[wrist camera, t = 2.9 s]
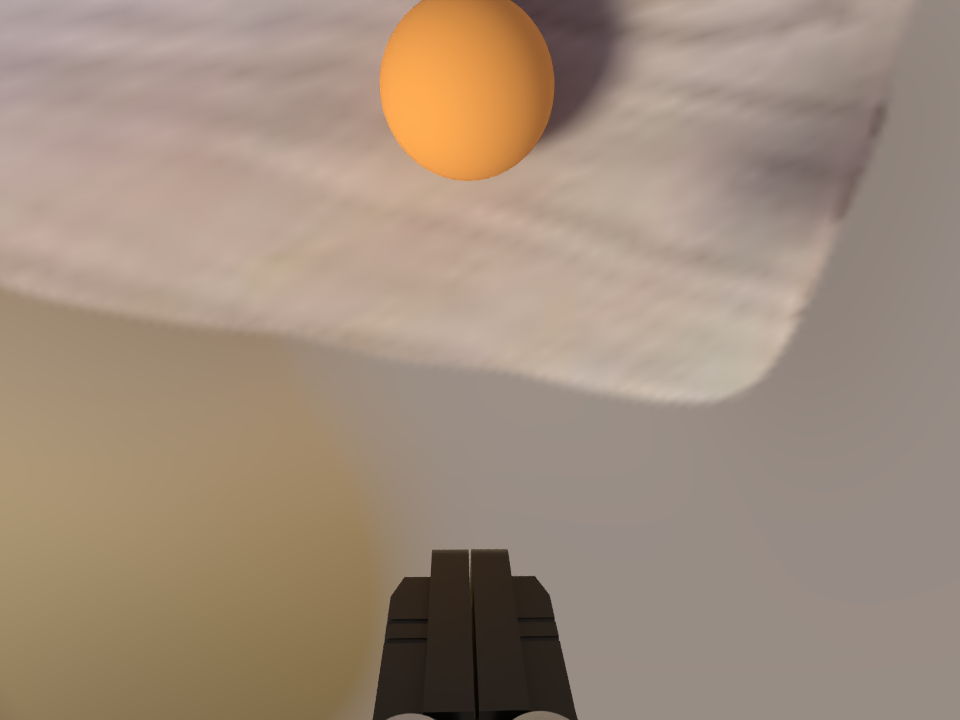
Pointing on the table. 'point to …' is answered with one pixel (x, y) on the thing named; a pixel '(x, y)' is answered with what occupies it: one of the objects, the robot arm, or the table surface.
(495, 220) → the table surface
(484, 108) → the ball
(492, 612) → the robot arm
